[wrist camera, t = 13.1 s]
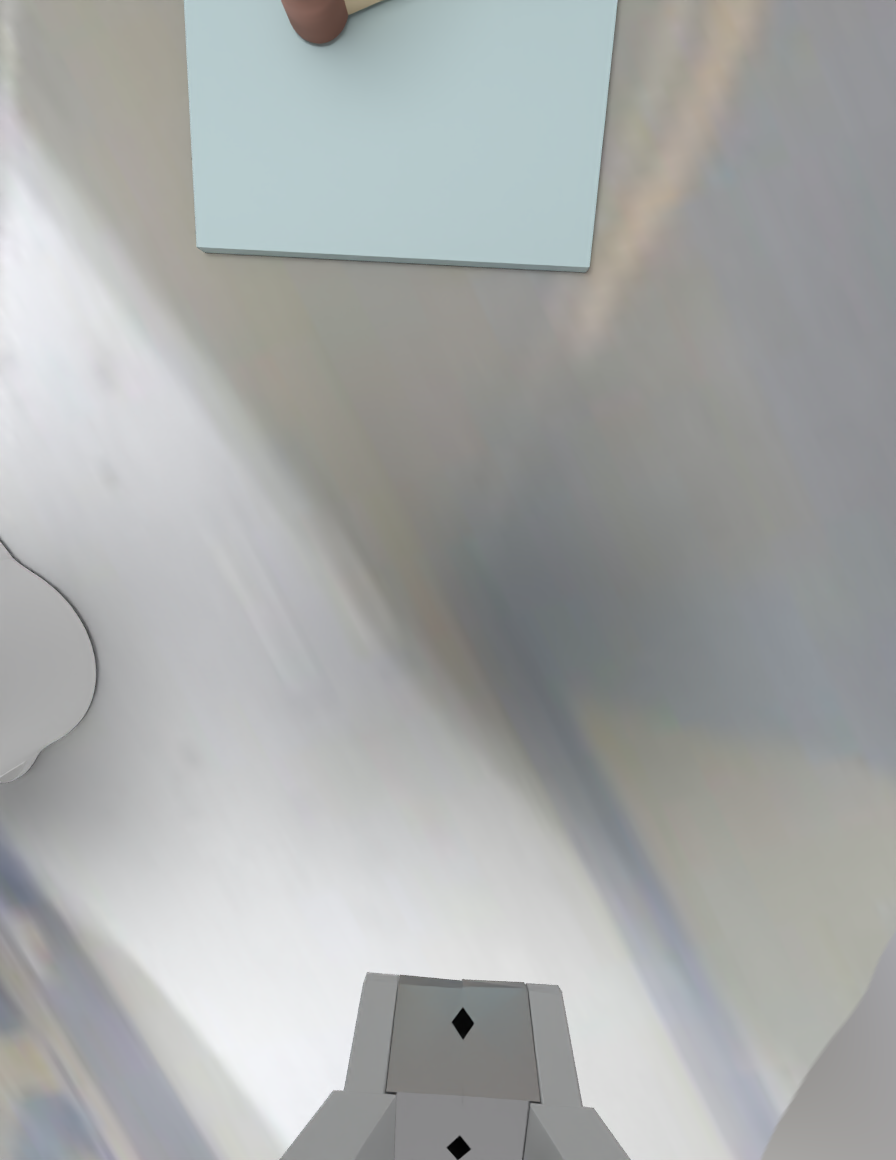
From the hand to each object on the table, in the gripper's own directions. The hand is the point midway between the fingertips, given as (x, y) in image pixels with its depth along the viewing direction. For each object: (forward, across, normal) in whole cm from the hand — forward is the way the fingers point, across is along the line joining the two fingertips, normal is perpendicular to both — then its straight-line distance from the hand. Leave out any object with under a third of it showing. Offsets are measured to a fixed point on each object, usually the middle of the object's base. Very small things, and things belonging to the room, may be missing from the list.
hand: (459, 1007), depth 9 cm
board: (+29, +5, -29) cm, 41 cm away
